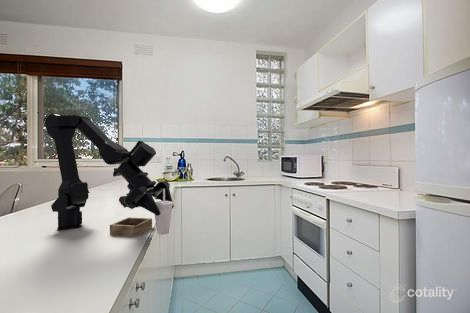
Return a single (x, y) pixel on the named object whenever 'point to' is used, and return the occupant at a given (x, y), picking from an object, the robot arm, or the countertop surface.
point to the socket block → (131, 226)
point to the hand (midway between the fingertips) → (166, 211)
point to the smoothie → (163, 215)
